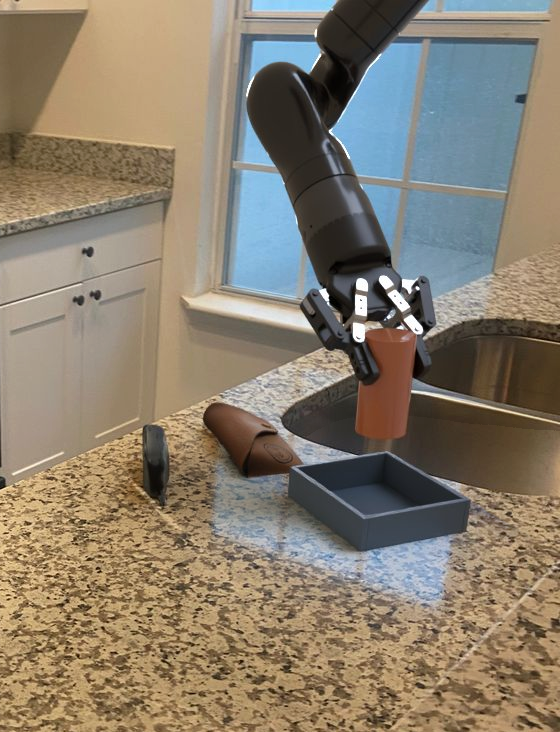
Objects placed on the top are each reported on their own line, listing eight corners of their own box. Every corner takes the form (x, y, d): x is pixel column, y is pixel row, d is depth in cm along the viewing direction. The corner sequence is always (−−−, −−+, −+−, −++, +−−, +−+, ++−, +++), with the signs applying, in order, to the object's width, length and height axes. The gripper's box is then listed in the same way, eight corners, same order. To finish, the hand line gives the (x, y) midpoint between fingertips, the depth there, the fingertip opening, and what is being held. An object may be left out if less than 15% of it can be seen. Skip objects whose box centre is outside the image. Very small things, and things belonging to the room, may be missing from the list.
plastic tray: (383, 483, 116) (387, 450, 114) (465, 535, 103) (471, 499, 101) (287, 500, 112) (289, 466, 111) (359, 556, 100) (363, 519, 98)
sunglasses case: (314, 471, 118) (288, 426, 115) (261, 504, 119) (234, 460, 116) (264, 419, 134) (240, 379, 131) (218, 449, 135) (194, 409, 132)
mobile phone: (139, 420, 123) (144, 465, 109) (164, 420, 123) (173, 465, 109) (139, 459, 125) (144, 508, 111) (163, 459, 125) (172, 508, 111)
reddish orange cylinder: (387, 419, 107) (397, 325, 103) (416, 435, 102) (428, 337, 98) (345, 426, 106) (353, 331, 101) (372, 442, 101) (382, 344, 97)
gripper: (292, 216, 100) (350, 368, 95) (419, 203, 104) (482, 350, 98) (264, 261, 107) (316, 405, 101) (383, 248, 110) (440, 386, 105)
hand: (397, 377), depth 100 cm, fingers closed on reddish orange cylinder, 5 cm apart
